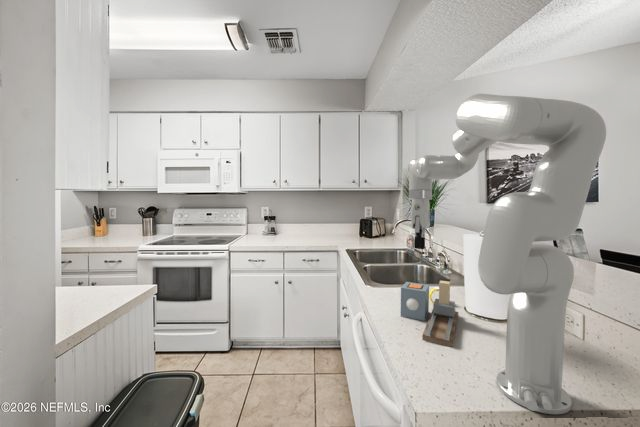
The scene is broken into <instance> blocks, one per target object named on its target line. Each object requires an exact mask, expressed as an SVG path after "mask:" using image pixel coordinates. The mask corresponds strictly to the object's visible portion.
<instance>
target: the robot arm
mask: <svg viewBox="0 0 640 427" xmlns="http://www.w3.org/2000/svg"><path fill="white" fill-rule="evenodd" d="M455 123H456V126H457V128H458V129H457V130H456V131H454V133H453V135H452V137H451V138H452V140H451V143H452V146H453V149H454V150H455V151H456V153H455V154H453V155H439V154H437V155H435V154H434V155H432V154H430V155H428V154H427V155H423V156H420V157H419V158H417V159H412V160H410V161H409V164H408V200H409V201H411V212H410V213H411V214H410V215H411V216H410V225H411V228H412V229H414V245H413V246H414V249H416V250H417V249H418V250H424V249H425V247H426V235H425V234H426V230H427V229H428V228H430V226H431V219H430V218H431V215H430V214H431V212H430V211H431V210H430V208H431V207H430V200H431V201H432V200H433V180H454V179H458V178H460V177H462V176H463V175H465V174H467V173H469V171H471V170H473V168H474V167H475V166H476V164H477V162H478V159H479V155H480V153H482V152H483V151H485V150H486V149H487V148H490V147H491V146H492V145H494V144H495V143H498V142H499V143H503V144H504V143H505V144H506V143H507V144H514V145H515V144H516V145H534V146H535V145H538V146H539V145H541V146H546V147H548V150H547V151H545V153H544V154H543V156H541V158H540V160H539V161H538V163H537V165H536V167H535V169H534V171H533V177H532V180H531V184H530V187H529V188H528V189H529V190H528V191H518V192H517V191H515V192H510V193H507V194H504V195H503V196H501V197H499V198H498V199H497V200H495V202H494V203H493V204H492V206H491V207H490V209H489V211H488V214H487V218H486V221H485V227H484V232H483V236H482V242H481V246H480V250H479V255H478V262H477V266H478V267H477V268H478V274H479V279H480V281H481V282H482V284H483V285H484V286H485V287H486V289H488V290H489V291H491V292H493V293H496V294H498V295H506V296H507V295H509V299H508V302H507V303H508V304H507V314H506V315H507V316H506V338H505V339H506V340H505V367H504V368H505V369H504V370H501V371H500V372H498V373H497V375H496V379H495V380H496V386H497V387H498V389H499V390H500V392H501V393H503V394H504V396H506V397H507V398H509V399H510V400H511V401H513V402H515V403H516V404H518V405H519V406H522V407H524V408H526V409H528V410H529V411H533V412H537V413H542V414H546V415H564V414H566V413H569V411H571V409H572V398H571V396H570V395H569V393H568V392H567V391H566V390H565V389H563V371H564V370H563V368H564V352H565V351H564V350H565V348H564V347H565V332H566V331H565V330H566V314H567V305H568V299H569V295H570V292H571V290H572V285H573V282H574V276H575V270H574V269H575V268H574V265H573V262H572V260H571V258H570V256H569V255H568V254H567V253H566V252H565V251H564V250H562V249H560V248H559V247H557V246H555V245H552V244H545V243H538V242H551V241H553V242H554V241H559V240H563V239H564V240H565V239H567V238H569V237H571V236H573V234H575V232H576V231H577V229H578V228H579V224H580V222H581V219H582V215H583V212H584V208H585V205H586V203H587V198H588V195H589V192H590V189H591V186H592V185H591V184H592V179H593V176H594V173H595V171H596V168H597V164H598V162H599V159H600V157H601V154H602V153H603V150H604V146H605V142H606V139H607V126H606V122H605V120H604V118H603V117H602V115H601V114H600V113H599V112H598V111H597V110H596V109H594V108H592V107H589V105H586V104H583V103H579V102H576V101H575V102H574V101H572V100H571V101H570V100H564V99H557V98H556V99H554V98H542V97H540V98H539V97H531V96H521V95H500V94H499V95H497V94H490V93H476V94H472V95H471V96H469V97H467V98H466V99H464V100H463V101H462V103H461V104H460V105H459V107H458V109H457V111H456V113H455ZM536 242H537V243H536Z"/></svg>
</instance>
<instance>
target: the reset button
mask: <svg viewBox="0 0 640 427" xmlns="http://www.w3.org/2000/svg"><path fill="white" fill-rule="evenodd" d="M408 288H415V289H422V285H417V284H410V285H409V286H408Z"/></svg>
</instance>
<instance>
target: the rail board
mask: <svg viewBox="0 0 640 427" xmlns="http://www.w3.org/2000/svg"><path fill="white" fill-rule="evenodd" d="M456 309H457V308H456V307H455V311H454V315H453V317H452V316H446V315H441V314H435V313H433V310H431V313H430V316H429V318H428V321H427V323H426V326H425V328H424V331H423V332H422V340H423V341H425V342H430V343H434V344H439V345H443V346H448V347H451V348H453V347H454V342H455V338H456V337H455V336H456V332H457V331H456V330H457V327H458V320H459V311H456Z"/></svg>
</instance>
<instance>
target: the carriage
mask: <svg viewBox="0 0 640 427" xmlns="http://www.w3.org/2000/svg"><path fill="white" fill-rule="evenodd" d="M438 283H439V284H438V287H439V291H438V298H435V299H434V301H435V302H434V303H433V304H432V305H433V307H432V311H433V313H435V314H441V315H446V316H452V317H453V315H454V311H455V308H456V306H455V305H456V301H453V300H450V299H451V297H450V296H451V281H446V280H439V282H438Z"/></svg>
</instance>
